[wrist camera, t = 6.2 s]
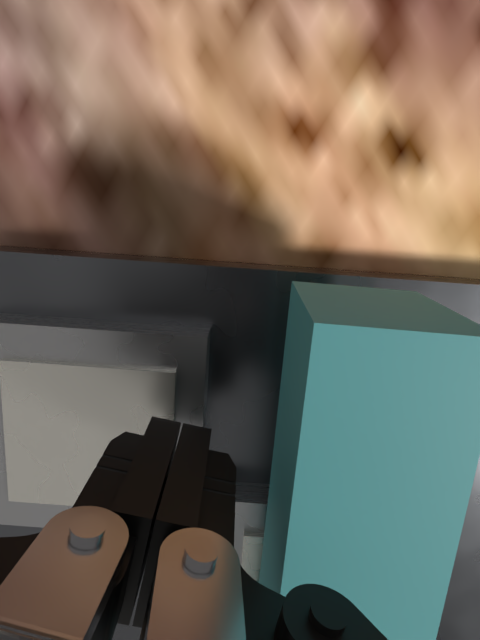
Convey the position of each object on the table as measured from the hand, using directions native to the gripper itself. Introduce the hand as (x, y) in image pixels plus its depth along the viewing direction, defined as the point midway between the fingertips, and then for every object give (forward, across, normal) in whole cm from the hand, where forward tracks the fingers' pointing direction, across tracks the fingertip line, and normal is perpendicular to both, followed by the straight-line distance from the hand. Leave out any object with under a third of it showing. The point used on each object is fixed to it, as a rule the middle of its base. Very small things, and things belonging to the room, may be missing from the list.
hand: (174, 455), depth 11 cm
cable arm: (+1, -5, +5) cm, 7 cm away
